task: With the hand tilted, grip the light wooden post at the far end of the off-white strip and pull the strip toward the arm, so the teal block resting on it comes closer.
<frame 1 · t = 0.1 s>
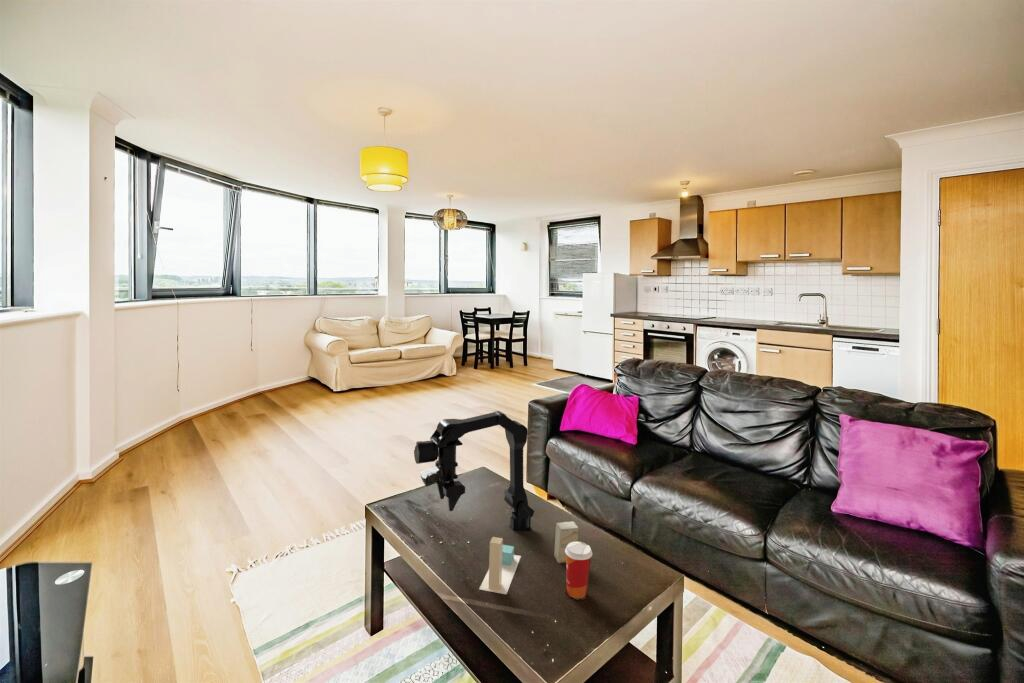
hand: (446, 504, 154), 15 cm above the table, tool pointing down, fingers open, 9 cm apart
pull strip: (502, 551, 140), point 7 cm above the table, slide at 0.0 cm, touching teal block
skincare box: (565, 561, 149), on the table
paper cup: (576, 594, 133), on the table
teal block: (506, 560, 147), point 1 cm above the table, touching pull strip
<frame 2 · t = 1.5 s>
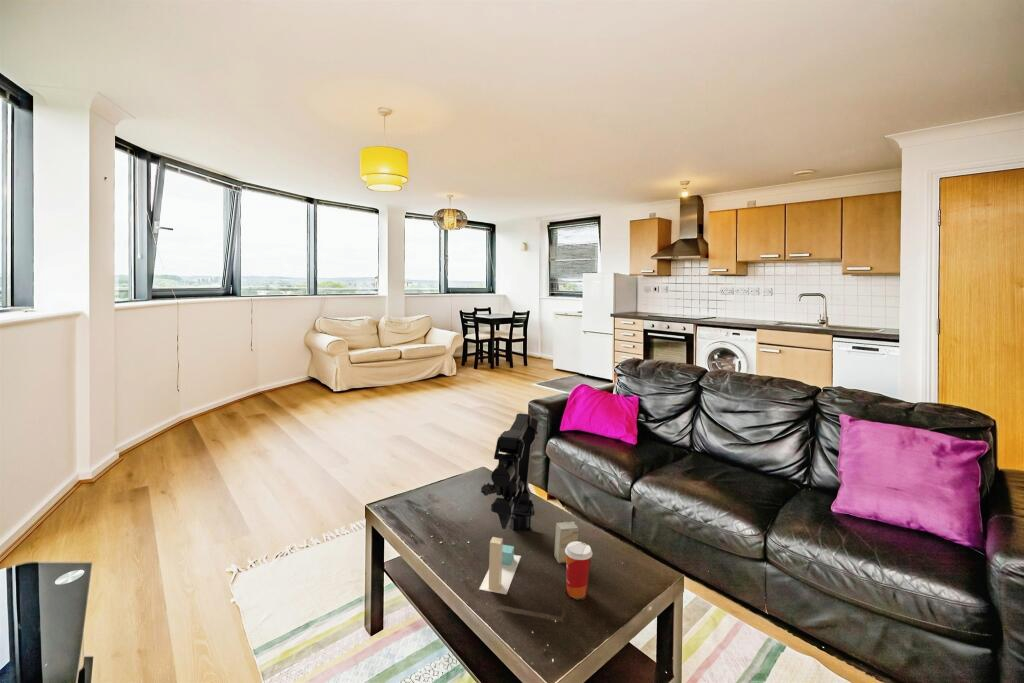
hand: (507, 521, 147), 13 cm above the table, tool pointing down, fingers open, 9 cm apart
nothing on the table moved.
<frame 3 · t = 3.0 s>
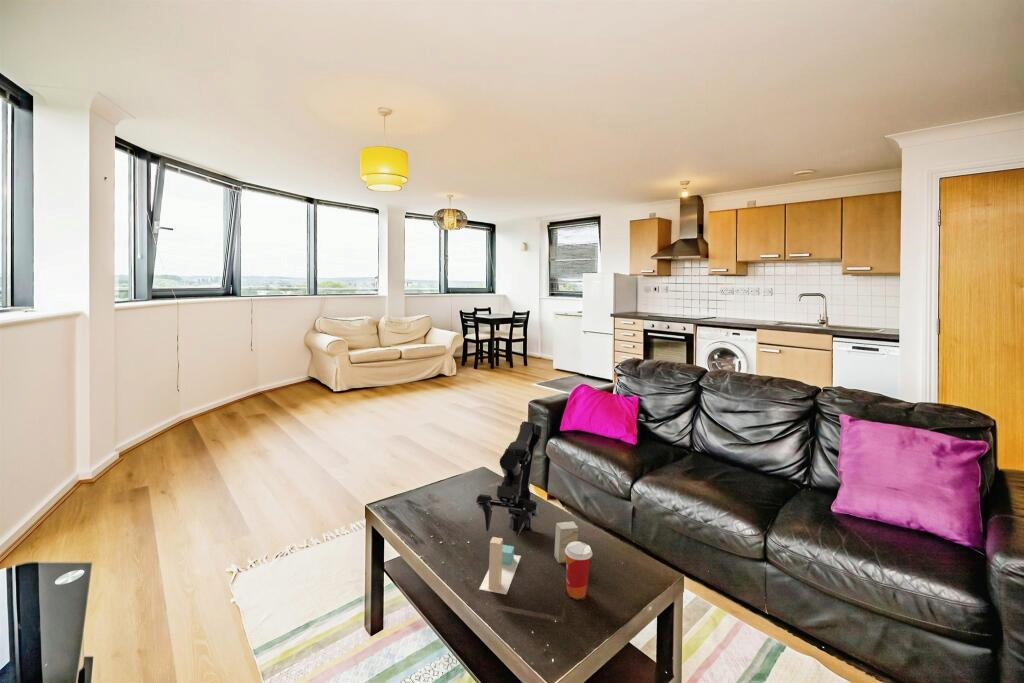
hand: (502, 533, 139), 13 cm above the table, tool tilted 45°, fingers open, 9 cm apart
nothing on the table moved.
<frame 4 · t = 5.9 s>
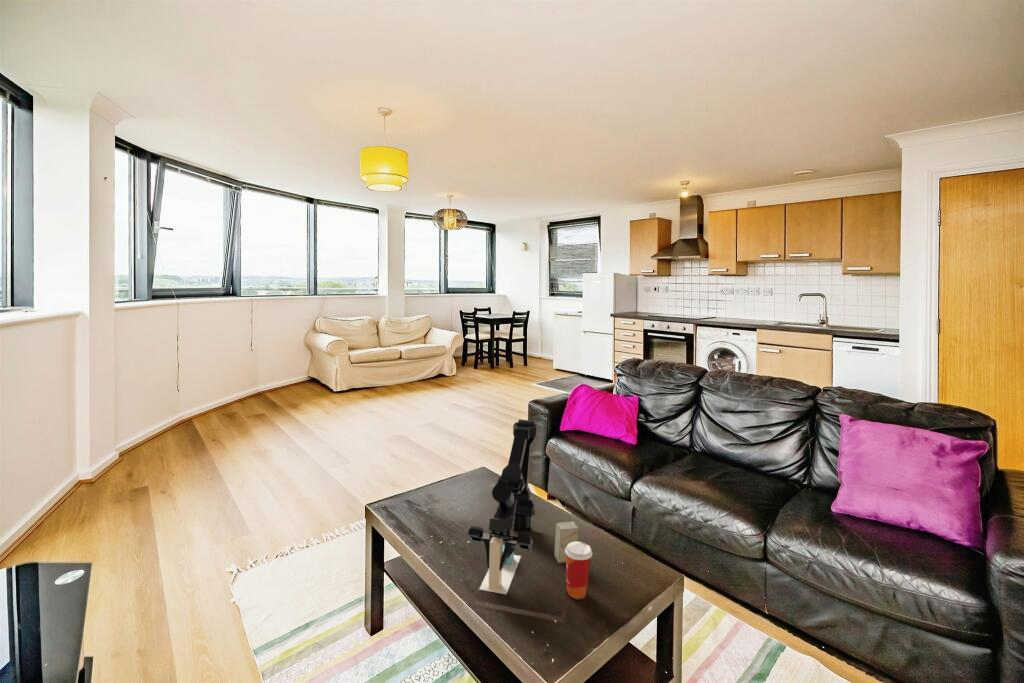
hand: (494, 569, 132), 7 cm above the table, tool tilted 45°, fingers closed on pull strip, 3 cm apart
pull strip: (502, 551, 140), point 7 cm above the table, slide at 0.0 cm, touching gripper, teal block
everything else where it was.
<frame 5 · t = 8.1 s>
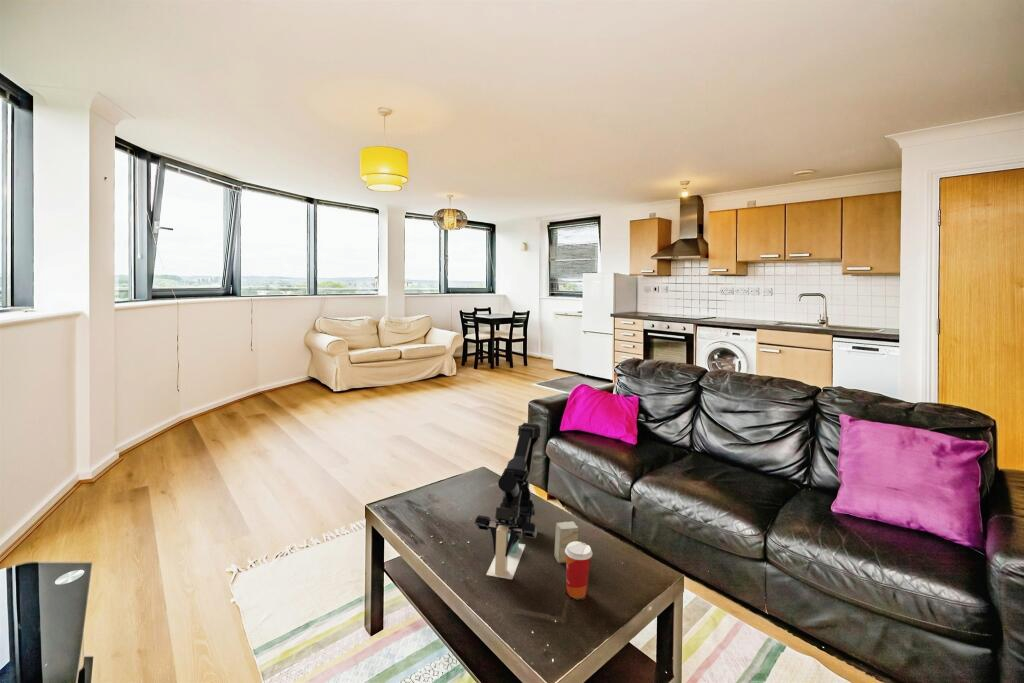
hand: (500, 555, 139), 7 cm above the table, tool tilted 45°, fingers closed on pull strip, 3 cm apart
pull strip: (507, 539, 147), point 7 cm above the table, slide at 7.0 cm, touching gripper, teal block
teal block: (511, 549, 153), point 1 cm above the table, touching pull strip
everything else where it was.
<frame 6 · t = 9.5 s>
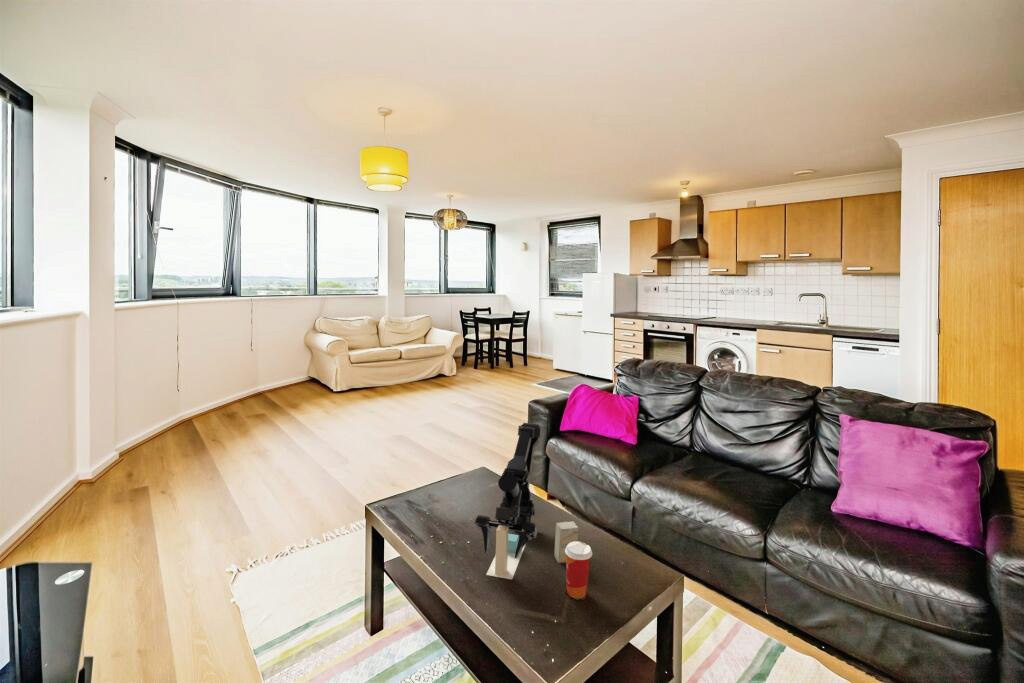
hand: (500, 555, 139), 7 cm above the table, tool tilted 45°, fingers open, 9 cm apart
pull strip: (507, 539, 147), point 7 cm above the table, slide at 7.0 cm, touching teal block
everything else where it was.
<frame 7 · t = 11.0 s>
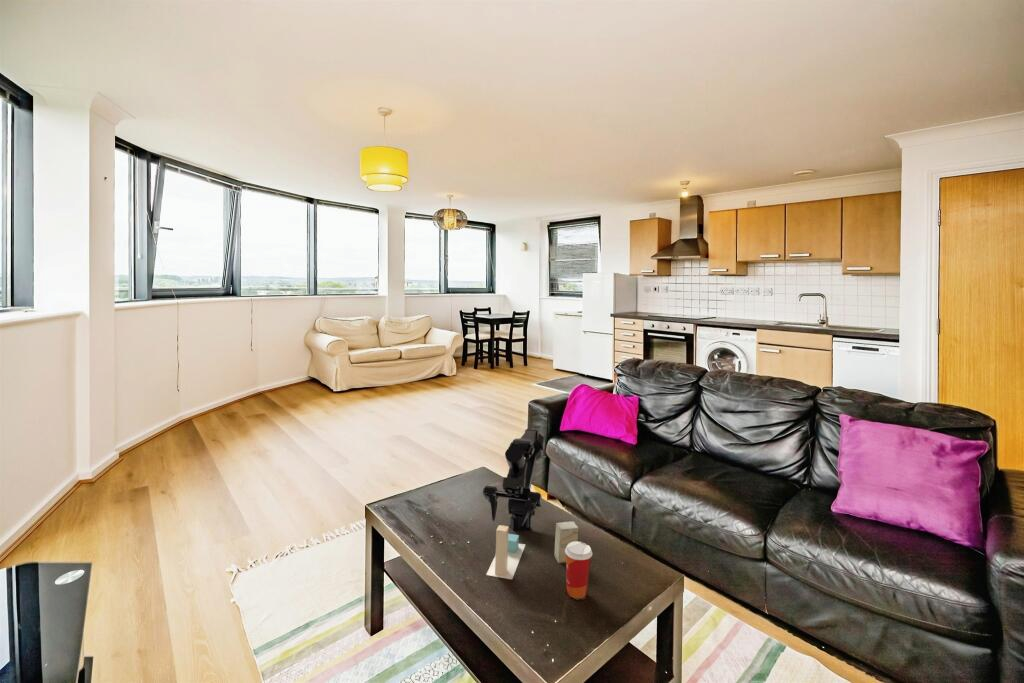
hand: (507, 523, 145), 13 cm above the table, tool tilted 45°, fingers open, 9 cm apart
nothing on the table moved.
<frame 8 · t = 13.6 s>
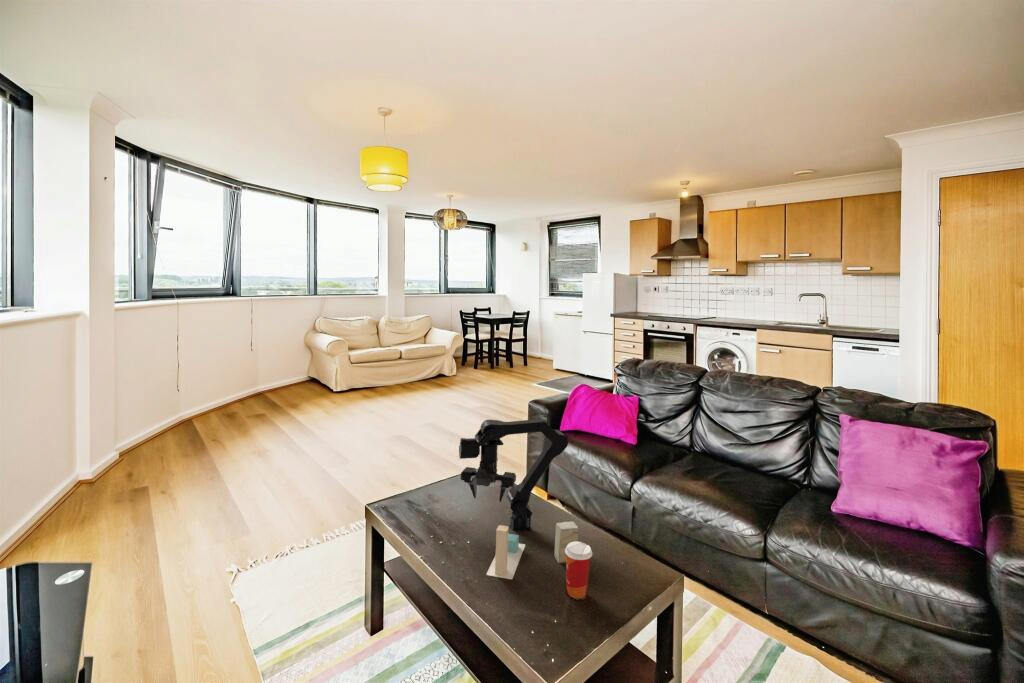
hand: (487, 499, 164), 12 cm above the table, tool pointing down, fingers open, 9 cm apart
nothing on the table moved.
at the end: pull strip slide at 7.0 cm; teal block moved 7.0 cm from its start; teal block tilted 0° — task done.
